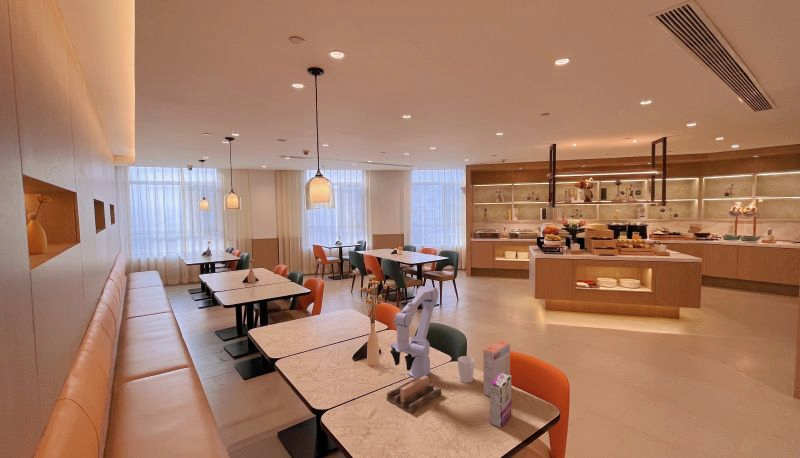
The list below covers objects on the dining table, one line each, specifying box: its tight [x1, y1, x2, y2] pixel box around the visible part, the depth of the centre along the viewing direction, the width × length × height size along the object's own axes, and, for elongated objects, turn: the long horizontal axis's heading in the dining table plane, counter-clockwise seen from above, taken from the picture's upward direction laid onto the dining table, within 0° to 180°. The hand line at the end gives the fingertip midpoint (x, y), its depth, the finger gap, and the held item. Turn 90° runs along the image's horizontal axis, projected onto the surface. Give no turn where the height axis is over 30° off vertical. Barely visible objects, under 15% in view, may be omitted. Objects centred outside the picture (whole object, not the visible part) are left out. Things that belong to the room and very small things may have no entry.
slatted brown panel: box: [386, 377, 442, 414], centre depth 155 cm, size 20×14×3 cm
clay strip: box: [400, 375, 429, 402], centre depth 155 cm, size 16×2×6 cm, turn 135°
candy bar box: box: [489, 373, 513, 429], centre depth 139 cm, size 11×5×16 cm, turn 143°
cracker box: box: [482, 340, 511, 398], centre depth 160 cm, size 14×6×21 cm, turn 134°
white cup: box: [457, 355, 475, 384], centre depth 171 cm, size 8×8×10 cm
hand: (403, 367), depth 164 cm, fingers open, 7 cm apart
